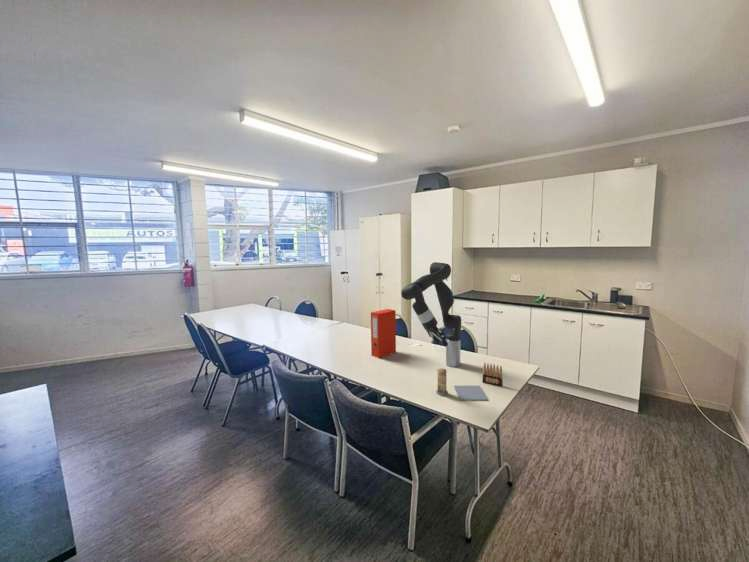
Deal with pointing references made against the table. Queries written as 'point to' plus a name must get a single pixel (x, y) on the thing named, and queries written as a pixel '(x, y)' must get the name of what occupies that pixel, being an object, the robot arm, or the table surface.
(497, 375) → the ammunition clip
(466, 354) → the table surface
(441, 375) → the tan ribbed cylinder
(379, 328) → the file binder
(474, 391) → the slate mat
